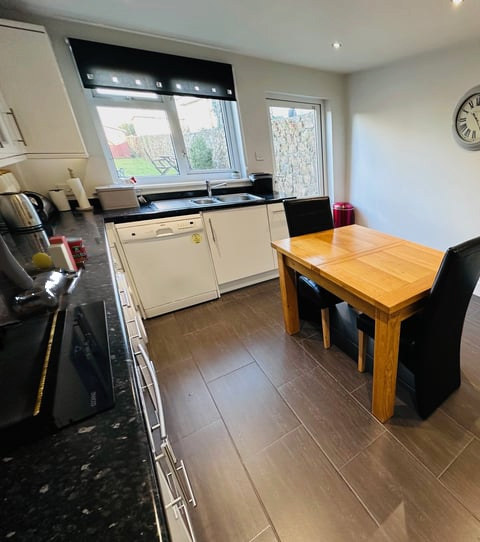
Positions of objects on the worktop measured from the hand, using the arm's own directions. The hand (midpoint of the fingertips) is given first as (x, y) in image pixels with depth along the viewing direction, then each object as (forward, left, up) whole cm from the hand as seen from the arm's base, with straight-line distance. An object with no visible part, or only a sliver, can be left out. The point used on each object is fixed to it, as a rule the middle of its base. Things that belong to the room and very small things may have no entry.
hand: (59, 269), depth 110 cm
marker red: (0, +11, -6) cm, 12 cm away
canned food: (-1, +34, -7) cm, 35 cm away
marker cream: (0, +6, -6) cm, 8 cm away
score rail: (0, +2, -7) cm, 7 cm away
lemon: (-11, +27, -7) cm, 30 cm away
